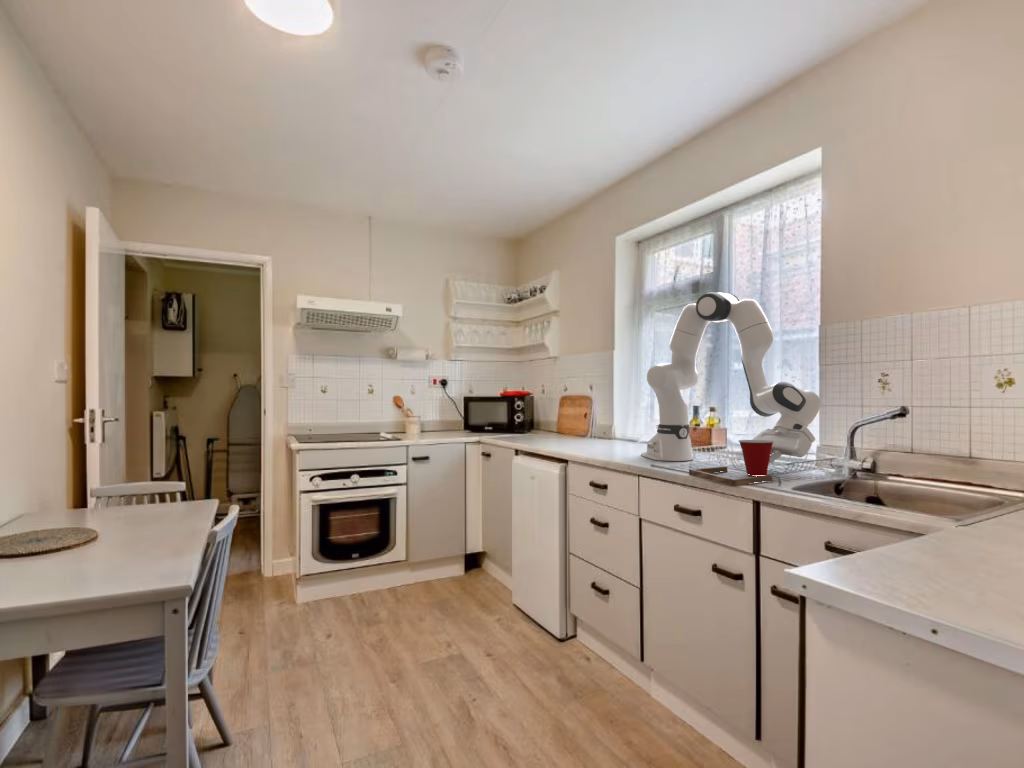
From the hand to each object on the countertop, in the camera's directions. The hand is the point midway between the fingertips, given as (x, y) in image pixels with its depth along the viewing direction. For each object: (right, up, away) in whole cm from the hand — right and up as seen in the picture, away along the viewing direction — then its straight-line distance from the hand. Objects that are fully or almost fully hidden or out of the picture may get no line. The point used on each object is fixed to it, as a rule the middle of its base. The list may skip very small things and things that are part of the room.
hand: (767, 461), depth 169 cm
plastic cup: (-4, -5, -2) cm, 7 cm away
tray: (-15, -5, -5) cm, 16 cm away
